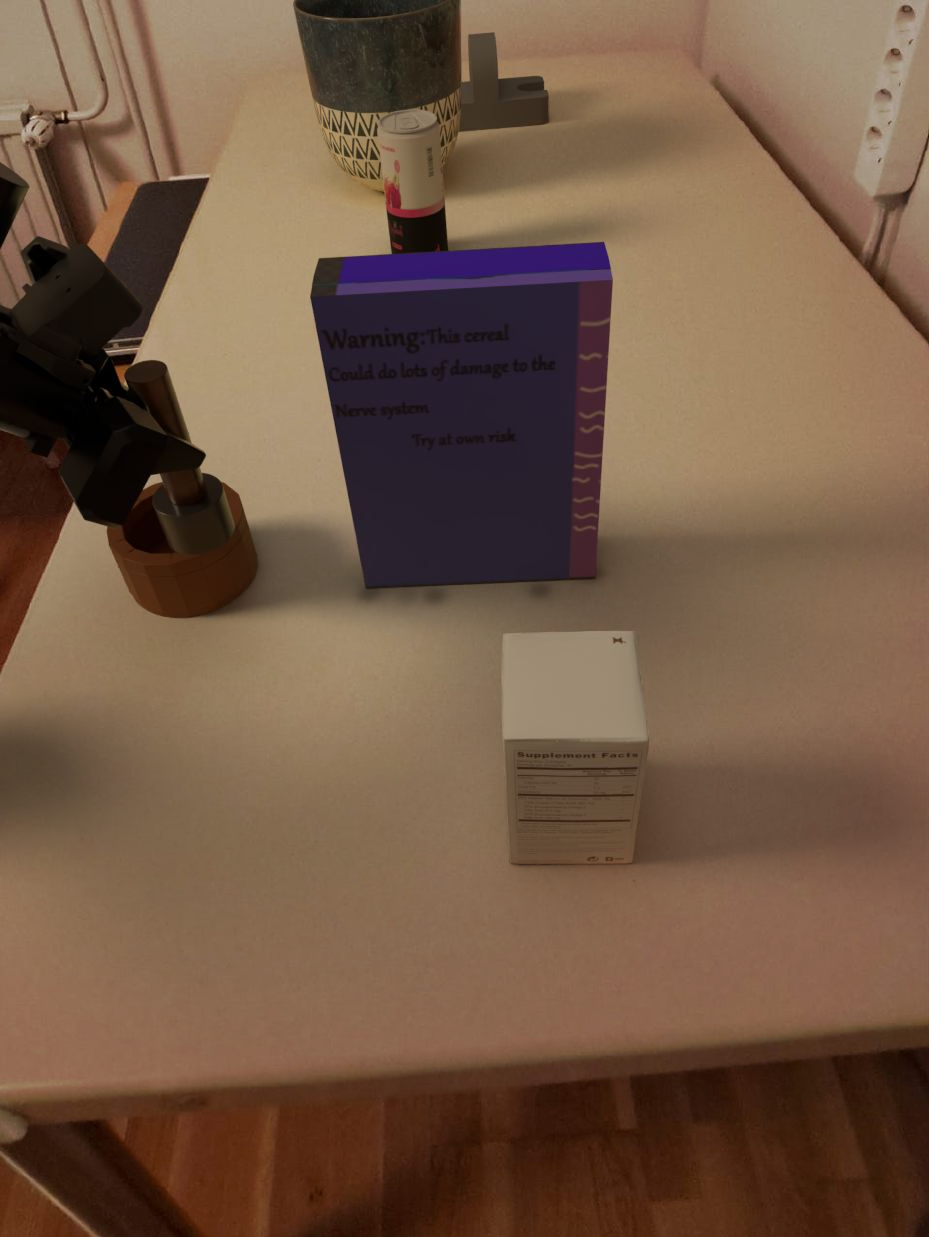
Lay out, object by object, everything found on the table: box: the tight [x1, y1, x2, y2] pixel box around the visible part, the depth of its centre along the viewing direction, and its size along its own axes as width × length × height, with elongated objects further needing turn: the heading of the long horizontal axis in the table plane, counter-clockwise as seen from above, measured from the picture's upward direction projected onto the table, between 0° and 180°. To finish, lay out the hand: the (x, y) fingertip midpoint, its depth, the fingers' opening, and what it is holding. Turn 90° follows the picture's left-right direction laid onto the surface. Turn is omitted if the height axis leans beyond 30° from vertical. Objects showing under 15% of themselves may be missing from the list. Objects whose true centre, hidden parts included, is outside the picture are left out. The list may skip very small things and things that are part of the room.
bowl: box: [106, 481, 259, 618], centre depth 72 cm, size 10×10×6 cm
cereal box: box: [309, 241, 614, 589], centre depth 64 cm, size 17×5×24 cm, turn 90°
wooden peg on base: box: [123, 359, 235, 555], centre depth 62 cm, size 5×5×13 cm
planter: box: [292, 0, 462, 192], centre depth 116 cm, size 20×20×21 cm
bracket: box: [458, 31, 550, 132], centre depth 135 cm, size 10×18×11 cm, turn 93°
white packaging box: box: [500, 630, 650, 865], centre depth 52 cm, size 7×7×13 cm
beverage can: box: [377, 109, 449, 254], centre depth 103 cm, size 7×6×15 cm
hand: (194, 449), depth 62 cm, fingers closed on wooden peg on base, 2 cm apart
